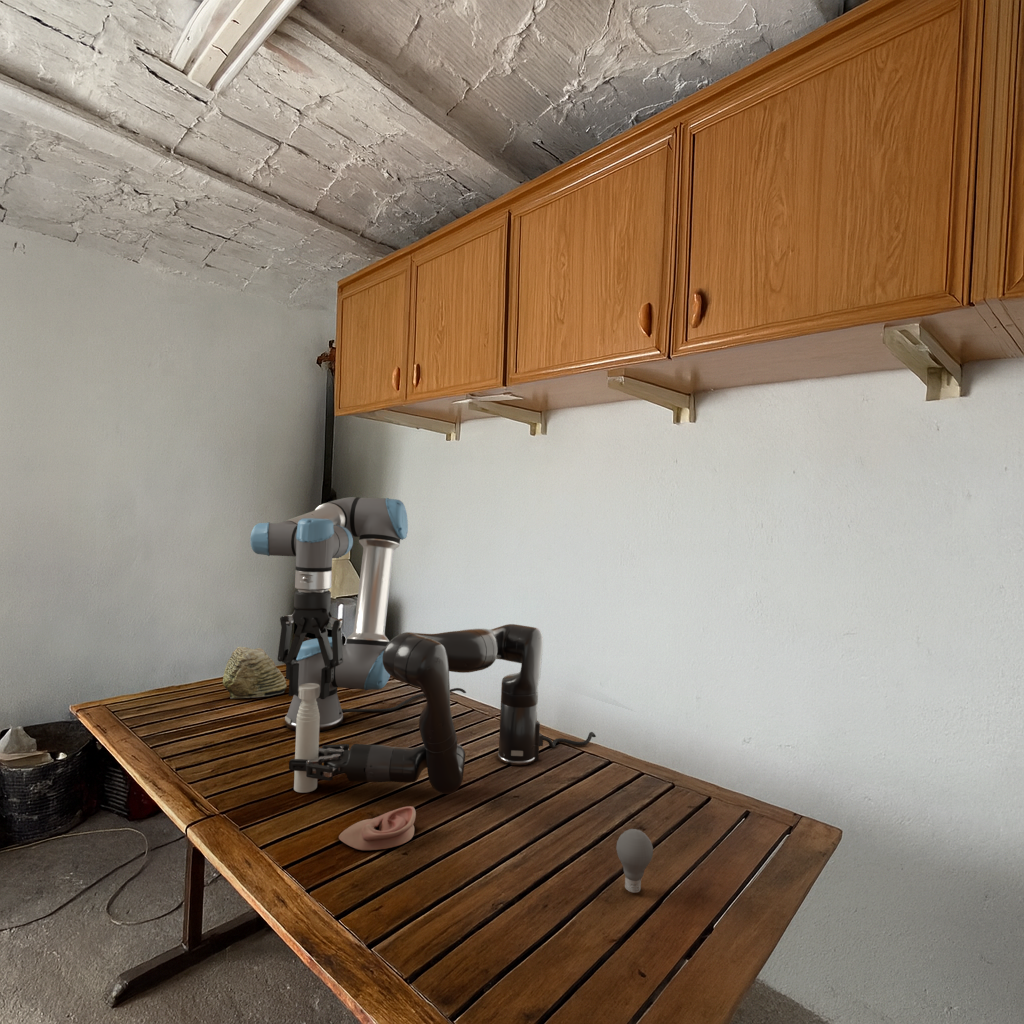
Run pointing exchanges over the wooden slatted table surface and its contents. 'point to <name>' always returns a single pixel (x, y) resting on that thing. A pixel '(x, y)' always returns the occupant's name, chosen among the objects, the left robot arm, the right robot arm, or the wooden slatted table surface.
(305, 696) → the cap
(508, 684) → the right robot arm
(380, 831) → the anatomical model
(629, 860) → the light bulb
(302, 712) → the bottle
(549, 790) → the wooden slatted table surface
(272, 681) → the fossil
